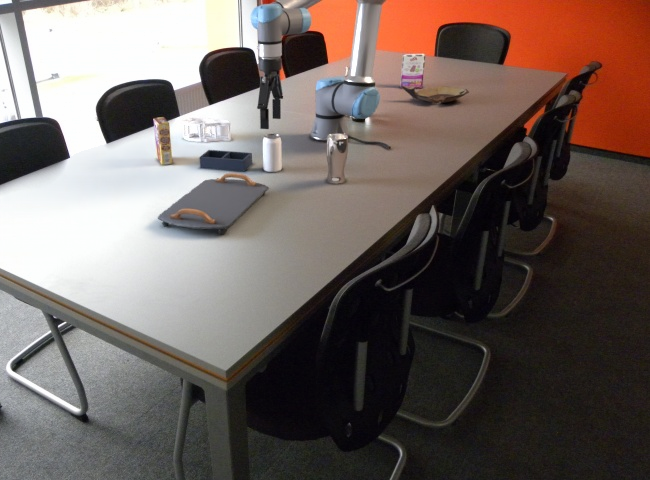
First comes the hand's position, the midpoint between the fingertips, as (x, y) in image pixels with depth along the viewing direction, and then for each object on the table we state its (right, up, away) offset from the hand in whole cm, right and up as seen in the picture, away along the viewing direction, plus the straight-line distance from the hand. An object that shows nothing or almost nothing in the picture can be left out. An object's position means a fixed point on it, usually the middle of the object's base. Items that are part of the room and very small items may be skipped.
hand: (270, 123), depth 208 cm
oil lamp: (+81, +35, +85) cm, 123 cm away
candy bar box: (+77, +51, +112) cm, 145 cm away
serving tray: (-17, -33, -21) cm, 43 cm away
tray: (-16, -12, +13) cm, 24 cm away
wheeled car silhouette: (-24, +6, +44) cm, 51 cm away
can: (+1, -14, +8) cm, 16 cm away
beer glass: (+22, -20, -3) cm, 30 cm away
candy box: (-39, -8, +21) cm, 45 cm away
